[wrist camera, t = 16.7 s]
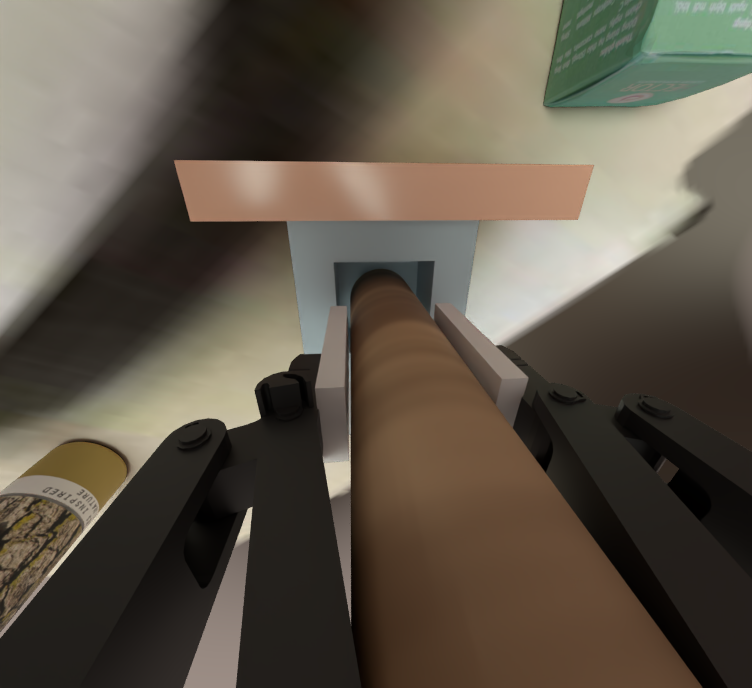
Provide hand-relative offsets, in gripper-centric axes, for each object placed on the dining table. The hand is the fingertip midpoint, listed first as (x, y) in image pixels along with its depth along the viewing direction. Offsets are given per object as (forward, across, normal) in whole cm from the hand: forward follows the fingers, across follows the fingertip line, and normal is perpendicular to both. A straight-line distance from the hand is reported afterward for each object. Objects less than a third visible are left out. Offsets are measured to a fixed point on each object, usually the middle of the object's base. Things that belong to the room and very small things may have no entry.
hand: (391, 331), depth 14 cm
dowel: (+5, 0, 0) cm, 5 cm away
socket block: (+10, 0, 0) cm, 10 cm away
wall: (+10, 0, +6) cm, 12 cm away
